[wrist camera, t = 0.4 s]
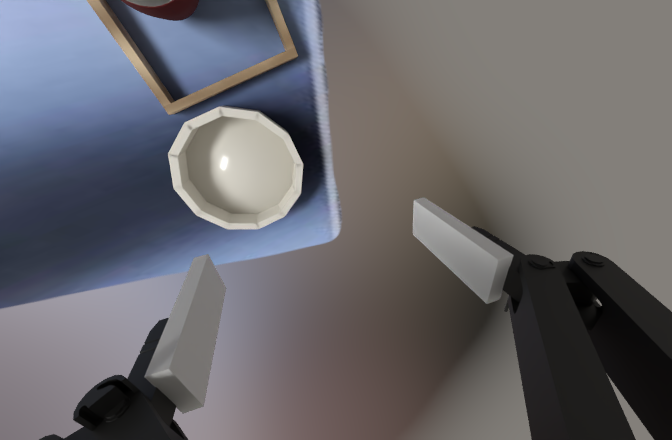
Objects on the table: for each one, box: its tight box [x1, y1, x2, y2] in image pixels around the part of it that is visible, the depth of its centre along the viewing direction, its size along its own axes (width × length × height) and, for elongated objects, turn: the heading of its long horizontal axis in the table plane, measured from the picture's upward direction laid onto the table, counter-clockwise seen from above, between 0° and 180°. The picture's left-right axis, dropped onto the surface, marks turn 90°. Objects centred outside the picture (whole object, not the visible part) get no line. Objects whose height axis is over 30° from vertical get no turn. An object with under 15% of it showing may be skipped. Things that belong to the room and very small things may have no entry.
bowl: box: [168, 106, 303, 229], centre depth 35 cm, size 17×17×4 cm
